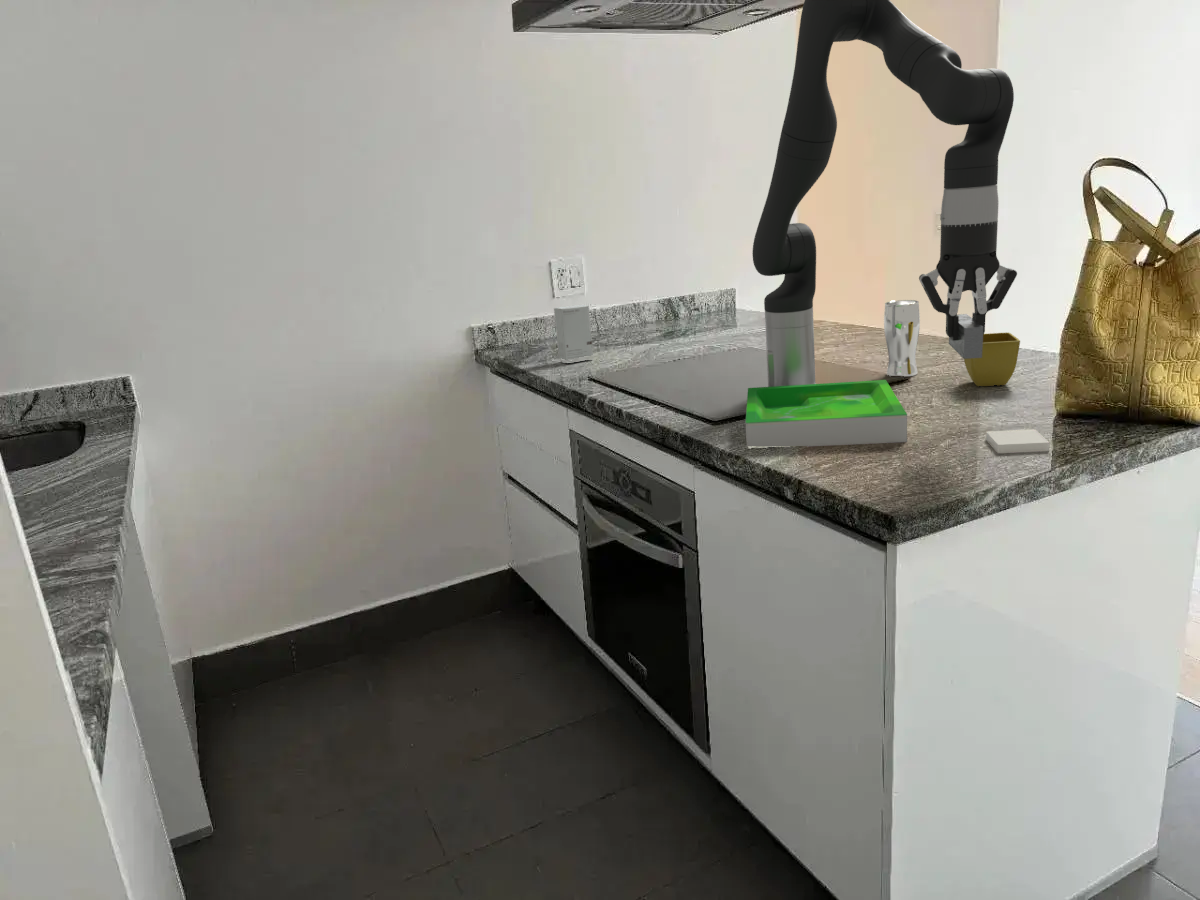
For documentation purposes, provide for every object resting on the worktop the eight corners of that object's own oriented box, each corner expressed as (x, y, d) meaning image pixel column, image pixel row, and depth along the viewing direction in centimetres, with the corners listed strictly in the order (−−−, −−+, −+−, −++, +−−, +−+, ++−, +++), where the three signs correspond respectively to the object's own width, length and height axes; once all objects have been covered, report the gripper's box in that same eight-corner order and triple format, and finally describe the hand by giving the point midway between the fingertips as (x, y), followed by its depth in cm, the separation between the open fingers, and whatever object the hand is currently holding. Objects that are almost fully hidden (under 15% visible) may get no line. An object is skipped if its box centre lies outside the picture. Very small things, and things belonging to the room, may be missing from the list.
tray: (907, 444, 137) (907, 414, 136) (747, 452, 142) (745, 422, 141) (886, 406, 161) (885, 379, 159) (749, 413, 165) (747, 388, 164)
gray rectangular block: (963, 358, 125) (964, 328, 124) (948, 343, 135) (949, 315, 133) (981, 357, 125) (983, 326, 124) (965, 342, 134) (966, 313, 133)
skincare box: (566, 365, 231) (559, 309, 227) (558, 362, 236) (552, 307, 232) (595, 360, 234) (589, 304, 229) (586, 357, 239) (581, 303, 235)
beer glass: (921, 370, 183) (921, 299, 179) (917, 377, 177) (918, 304, 173) (886, 370, 186) (886, 300, 182) (882, 378, 180) (881, 305, 176)
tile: (998, 444, 127) (1049, 442, 126) (986, 431, 133) (1034, 429, 132) (997, 456, 127) (1049, 453, 126) (985, 442, 134) (1034, 440, 133)
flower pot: (1019, 387, 161) (1021, 340, 159) (969, 390, 163) (970, 343, 161) (1008, 377, 170) (1009, 331, 167) (960, 380, 172) (961, 335, 169)
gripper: (922, 225, 122) (920, 346, 127) (1029, 217, 119) (1022, 341, 125) (913, 222, 129) (911, 337, 134) (1013, 214, 126) (1007, 331, 132)
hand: (965, 338), depth 129 cm, fingers closed on gray rectangular block, 2 cm apart
